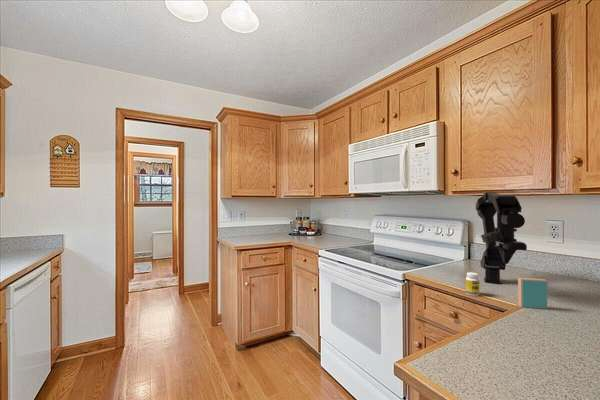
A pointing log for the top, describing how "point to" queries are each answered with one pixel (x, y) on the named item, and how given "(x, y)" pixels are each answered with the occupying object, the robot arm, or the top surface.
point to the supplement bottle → (472, 284)
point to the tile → (532, 293)
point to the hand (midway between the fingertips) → (505, 263)
